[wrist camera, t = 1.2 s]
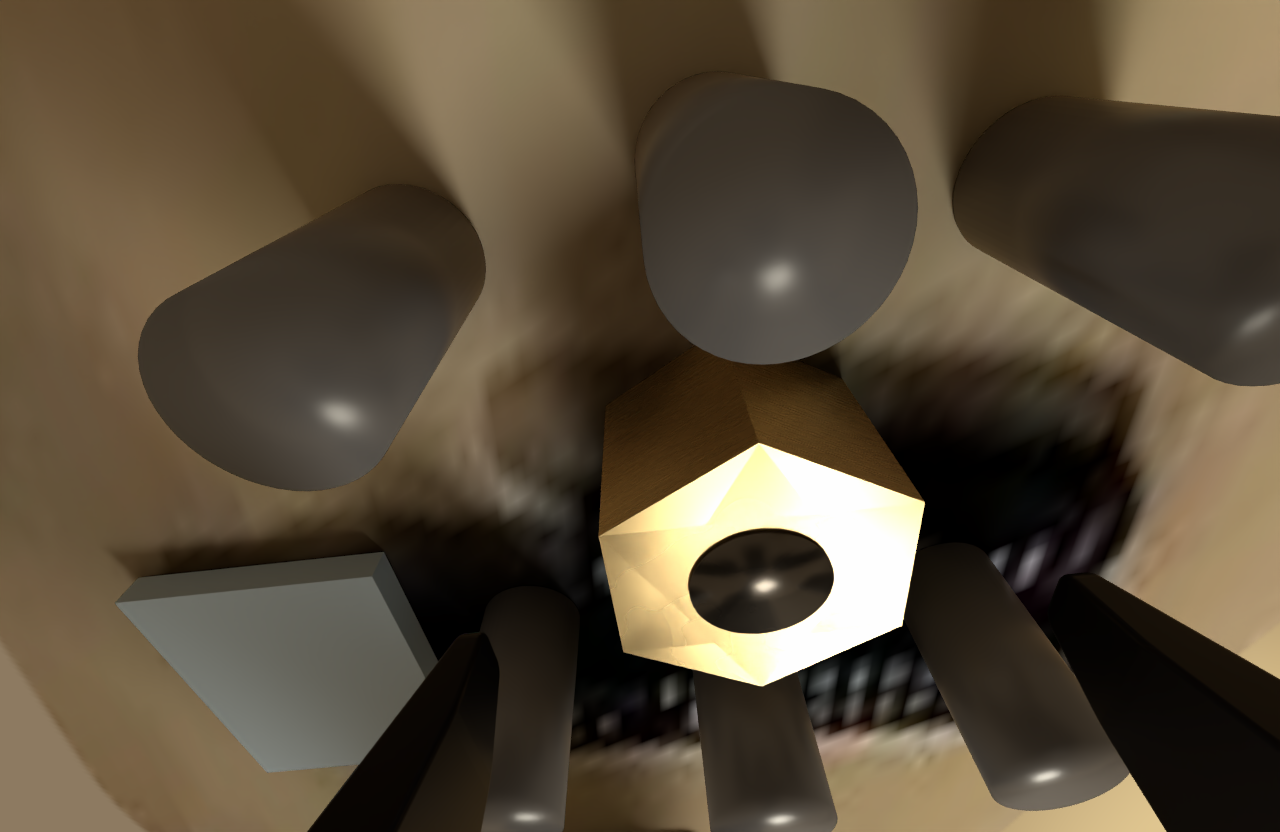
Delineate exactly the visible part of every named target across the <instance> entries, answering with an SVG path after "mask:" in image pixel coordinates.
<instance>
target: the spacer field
mask: <svg viewBox="0 0 1280 832" xmlns="http://www.w3.org/2000/svg"><path fill="white" fill-rule="evenodd" d="M635 174H636V184H637V195H638V206H639V216H640V227H641V237H642V248H643V258H644V264H645V270H646V275H647V279H648V282H649V285H650V288H651V291H652V294H653V296H654V298H655V300H656V302H657V304H658V306H659V308H660V309H661V311H662V312H663V314H664V315H665V317H666V318H667V320H668V321H669V322H670V323H671V324H672V325H673V326H674V328H675V329H676V330H677V331H678V332H679V333H680V334H682V335H683V336H684V337H685V338H686V339H687V340H689V341H690V342H691V343H693V344H694V345H696V346H698V347H699V348H701V349H702V350H704V351H706V352H709V353H711V354H713V355H715V356H717V357H721V358H724V359H727V360H730V361H735V362H740V363H746V364H761V365H763V364H778V363H784V362H790V361H795V360H798V359H802V358H805V357H809V356H811V355H814V354H816V353H818V352H821V351H823V350H825V349H827V348H829V347H831V346H833V345H835V344H836V343H838V342H840V341H841V340H843V339H844V338H846V337H847V336H849V335H850V334H852V333H853V332H854V331H856V330H857V329H858V328H859V327H860V326H861V325H863V324H864V323H865V322H866V321H867V320H868V319H869V318H870V317H871V316H872V315H873V314H874V313H875V312H876V311H877V310H878V309H879V307H880V306H881V305H882V304H883V302H884V301H885V300H886V298H887V297H888V296H889V294H890V293H891V291H892V290H893V288H894V286H895V285H896V283H897V281H898V280H899V278H900V276H901V274H902V272H903V269H904V267H905V265H906V263H907V261H908V257H909V254H910V251H911V248H912V245H913V241H914V236H915V231H916V226H917V212H918V202H917V188H916V183H915V179H914V174H913V170H912V167H911V164H910V162H909V159H908V156H907V154H906V152H905V150H904V148H903V146H902V145H901V143H900V141H899V139H898V137H897V136H896V135H895V134H894V132H893V131H892V130H891V129H890V127H889V126H888V125H887V123H886V122H884V121H883V120H882V119H881V118H880V117H879V116H878V115H877V114H876V113H875V112H873V111H872V110H871V109H869V108H868V107H866V106H865V105H863V104H861V103H860V102H858V101H857V100H855V99H852V98H850V97H848V96H845V95H843V94H841V93H838V92H834V91H830V90H826V89H822V88H817V87H811V86H805V85H799V84H793V83H788V82H782V81H776V80H770V79H764V78H758V77H752V76H746V75H740V74H735V73H729V72H706V73H701V74H697V75H694V76H691V77H688V78H686V79H684V80H682V81H680V82H679V83H677V84H675V85H674V86H673V87H671V88H670V89H668V90H667V91H666V92H665V93H664V94H663V95H662V96H661V97H660V98H659V99H658V100H657V101H656V103H655V104H654V105H653V106H652V108H651V109H650V111H649V113H648V114H647V116H646V118H645V120H644V122H643V124H642V126H641V129H640V132H639V135H638V138H637V144H636V149H635ZM953 211H954V216H955V221H956V223H957V226H958V228H959V230H960V232H961V234H962V235H963V237H964V238H965V239H966V240H967V241H968V242H969V243H970V244H971V245H972V246H974V247H975V248H977V249H979V250H981V251H982V252H984V253H986V254H988V255H990V256H991V257H993V258H995V259H997V260H999V261H1001V262H1002V263H1004V264H1006V265H1008V266H1010V267H1011V268H1013V269H1015V270H1017V271H1019V272H1021V273H1022V274H1024V275H1026V276H1028V277H1030V278H1031V279H1033V280H1035V281H1037V282H1039V283H1041V284H1042V285H1044V286H1046V287H1048V288H1050V289H1052V290H1053V291H1055V292H1057V293H1059V294H1061V295H1062V296H1064V297H1066V298H1068V299H1070V300H1072V301H1073V302H1075V303H1077V304H1079V305H1081V306H1082V307H1084V308H1086V309H1088V310H1090V311H1092V312H1093V313H1095V314H1097V315H1099V316H1101V317H1102V318H1104V319H1106V320H1108V321H1110V322H1112V323H1113V324H1115V325H1117V326H1119V327H1121V328H1122V329H1124V330H1126V331H1128V332H1130V333H1132V334H1133V335H1135V336H1137V337H1139V338H1141V339H1143V340H1144V341H1146V342H1148V343H1150V344H1152V345H1153V346H1155V347H1157V348H1159V349H1161V350H1163V351H1164V352H1166V353H1168V354H1170V355H1172V356H1173V357H1175V358H1177V359H1179V360H1181V361H1183V362H1184V363H1186V364H1188V365H1190V366H1192V367H1193V368H1195V369H1197V370H1199V371H1201V372H1203V373H1204V374H1206V375H1208V376H1210V377H1212V378H1213V379H1216V380H1219V381H1221V382H1224V383H1228V384H1233V385H1238V386H1267V385H1273V384H1279V383H1280V116H1270V115H1259V114H1249V113H1238V112H1227V111H1217V110H1206V109H1196V108H1185V107H1174V106H1164V105H1153V104H1142V103H1132V102H1121V101H1111V100H1100V99H1089V98H1079V97H1068V96H1049V97H1044V98H1039V99H1036V100H1033V101H1030V102H1027V103H1025V104H1023V105H1021V106H1018V107H1016V108H1015V109H1013V110H1011V111H1010V112H1008V113H1007V114H1005V115H1004V116H1002V117H1001V118H1000V119H998V120H997V121H996V122H995V123H994V124H993V125H992V126H990V127H989V128H988V129H987V130H986V131H985V132H984V134H983V135H982V136H981V137H980V138H979V139H978V140H977V142H976V143H975V145H974V146H973V147H972V149H971V150H970V152H969V153H968V155H967V157H966V159H965V160H964V163H963V165H962V167H961V169H960V171H959V174H958V177H957V180H956V184H955V189H954V197H953ZM485 273H486V265H485V257H484V252H483V248H482V245H481V242H480V240H479V238H478V236H477V234H476V232H475V230H474V229H473V227H472V225H471V224H470V222H469V221H468V220H467V219H466V217H465V216H464V215H463V214H462V213H461V212H460V211H459V210H458V209H457V208H456V207H455V206H453V205H452V204H451V203H450V202H448V201H447V200H445V199H444V198H442V197H441V196H439V195H437V194H435V193H433V192H431V191H429V190H426V189H423V188H420V187H416V186H411V185H402V184H394V185H385V186H380V187H377V188H375V189H372V190H370V191H368V192H366V193H364V194H362V195H360V196H358V197H356V198H355V199H353V200H351V201H349V202H347V203H345V204H343V205H341V206H340V207H338V208H336V209H334V210H332V211H330V212H328V213H326V214H325V215H323V216H321V217H319V218H317V219H315V220H313V221H311V222H309V223H308V224H306V225H304V226H302V227H300V228H298V229H296V230H294V231H293V232H291V233H289V234H287V235H285V236H283V237H281V238H279V239H278V240H276V241H274V242H272V243H270V244H268V245H266V246H264V247H263V248H261V249H259V250H257V251H255V252H253V253H251V254H249V255H248V256H246V257H244V258H242V259H240V260H238V261H236V262H234V263H233V264H231V265H229V266H227V267H225V268H223V269H221V270H219V271H218V272H216V273H214V274H212V275H210V276H208V277H206V278H204V279H203V280H201V281H199V282H197V283H195V284H193V285H191V286H189V287H188V288H186V289H184V290H182V291H180V292H178V293H177V294H175V295H173V296H171V297H170V298H168V299H166V300H165V301H164V302H163V303H162V304H160V305H159V306H158V307H157V308H156V309H155V310H154V312H153V313H152V314H151V315H150V317H149V318H148V320H147V322H146V324H145V326H144V328H143V330H142V333H141V337H140V341H139V348H138V362H139V370H140V374H141V378H142V381H143V385H144V387H145V390H146V392H147V394H148V396H149V399H150V400H151V402H152V404H153V406H154V407H155V409H156V411H157V412H158V414H159V415H160V416H161V418H162V419H163V420H164V422H165V423H166V424H167V425H168V426H169V428H170V429H171V430H172V431H173V432H174V433H175V434H176V435H177V436H178V437H179V438H180V439H181V440H182V441H183V442H184V443H186V444H187V445H188V446H189V447H190V448H191V449H193V450H194V451H195V452H197V453H198V454H199V455H201V456H202V457H203V458H205V459H206V460H208V461H210V462H211V463H213V464H214V465H216V466H218V467H220V468H222V469H223V470H225V471H227V472H229V473H231V474H234V475H236V476H238V477H241V478H243V479H245V480H248V481H251V482H254V483H258V484H261V485H264V486H269V487H273V488H278V489H285V490H293V491H317V490H325V489H331V488H336V487H339V486H343V485H346V484H348V483H350V482H353V481H355V480H357V479H359V478H360V477H362V476H364V475H365V474H367V473H368V472H369V471H370V470H372V469H373V468H374V467H375V466H376V465H377V464H378V463H379V461H380V460H381V459H382V458H383V456H384V455H385V453H386V451H387V450H388V448H389V446H390V445H391V443H392V441H393V440H394V438H395V436H396V435H397V433H398V431H399V430H400V428H401V426H402V425H403V423H404V421H405V420H406V418H407V416H408V415H409V413H410V411H411V410H412V408H413V406H414V405H415V403H416V401H417V400H418V398H419V396H420V395H421V393H422V391H423V390H424V388H425V386H426V385H427V383H428V381H429V380H430V378H431V376H432V375H433V373H434V371H435V370H436V368H437V366H438V365H439V363H440V361H441V360H442V358H443V356H444V355H445V353H446V351H447V350H448V348H449V346H450V345H451V343H452V341H453V340H454V338H455V336H456V335H457V333H458V331H459V330H460V328H461V326H462V325H463V323H464V321H465V320H466V318H467V316H468V315H469V313H470V311H471V310H472V308H473V306H474V305H475V303H476V301H477V299H478V298H479V296H480V294H481V291H482V289H483V286H484V281H485ZM903 618H904V620H905V622H906V624H907V626H908V628H909V630H910V632H911V634H912V636H913V638H914V640H915V642H916V644H917V646H918V648H919V650H920V652H921V654H922V656H923V658H924V660H925V663H926V665H927V667H928V669H929V671H930V673H931V675H932V677H933V679H934V681H935V683H936V685H937V687H938V689H939V691H940V693H941V695H942V697H943V699H944V701H945V703H946V705H947V707H948V709H949V711H950V713H951V715H952V717H953V719H954V721H955V723H956V725H957V727H958V729H959V731H960V733H961V735H962V737H963V739H964V741H965V743H966V745H967V747H968V749H969V751H970V753H971V755H972V757H973V759H974V761H975V763H976V765H977V767H978V769H979V771H980V773H981V775H982V777H983V780H984V782H985V784H986V786H987V788H988V790H989V792H990V794H991V796H992V797H993V799H994V800H995V801H996V802H997V803H999V804H1001V805H1003V806H1005V807H1008V808H1012V809H1017V810H1026V811H1039V810H1050V809H1057V808H1062V807H1067V806H1071V805H1075V804H1079V803H1082V802H1085V801H1087V800H1090V799H1092V798H1095V797H1097V796H1099V795H1101V794H1103V793H1105V792H1107V791H1109V790H1110V789H1112V788H1113V787H1115V786H1116V785H1118V784H1119V783H1120V782H1122V781H1123V780H1124V779H1125V778H1126V777H1127V776H1128V774H1129V773H1130V772H1129V770H1128V769H1127V767H1126V766H1125V764H1124V762H1123V761H1122V759H1121V758H1120V756H1119V754H1118V753H1117V751H1116V750H1115V748H1114V746H1113V745H1112V743H1111V741H1110V740H1109V738H1108V737H1107V735H1106V733H1105V731H1104V730H1103V728H1102V726H1101V725H1100V723H1099V721H1098V719H1097V717H1096V716H1095V714H1094V712H1093V710H1092V708H1091V706H1090V704H1089V702H1088V700H1087V698H1086V696H1085V694H1084V692H1083V690H1082V688H1081V686H1080V684H1079V682H1078V680H1077V678H1076V677H1075V676H1074V674H1073V673H1072V672H1071V670H1070V669H1069V667H1068V666H1067V665H1066V663H1065V662H1064V660H1063V659H1062V658H1061V656H1060V655H1059V654H1058V652H1057V651H1056V649H1055V648H1054V647H1053V645H1052V644H1051V643H1050V641H1049V640H1048V638H1047V637H1046V636H1045V634H1044V633H1043V632H1042V630H1041V629H1040V627H1039V626H1038V625H1037V623H1036V622H1035V620H1034V619H1033V618H1032V616H1031V615H1030V614H1029V612H1028V611H1027V609H1026V608H1025V607H1024V605H1023V604H1022V603H1021V601H1020V600H1019V598H1018V597H1017V596H1016V594H1015V593H1014V592H1013V590H1012V589H1011V587H1010V586H1009V585H1008V583H1007V582H1006V581H1005V579H1004V578H1003V576H1002V575H1001V574H1000V572H999V571H998V569H997V568H996V567H995V565H994V564H993V563H992V561H991V560H990V558H989V557H988V556H987V554H986V553H985V552H984V551H983V550H981V549H980V548H978V547H976V546H974V545H971V544H967V543H957V542H953V543H943V544H938V545H934V546H931V547H928V548H925V549H923V550H921V551H919V552H917V553H915V558H914V563H913V568H912V574H911V579H910V584H909V590H908V595H907V600H906V606H905V611H904V616H903ZM579 628H580V614H579V611H578V609H577V607H576V606H575V604H574V603H573V602H572V601H571V600H570V599H569V598H567V597H566V596H565V595H563V594H561V593H559V592H557V591H555V590H552V589H549V588H545V587H539V586H519V587H514V588H510V589H507V590H504V591H502V592H500V593H499V594H497V595H496V596H494V597H493V598H492V599H491V600H490V601H489V603H488V604H487V606H486V609H485V612H484V616H483V620H482V624H481V628H480V632H484V633H485V634H486V635H487V636H488V638H489V641H490V643H491V646H492V648H493V650H494V653H495V655H496V658H497V660H498V663H499V670H500V679H499V691H498V703H497V715H496V727H495V739H494V751H493V762H492V772H491V780H490V786H489V792H488V797H487V803H486V808H485V813H484V819H483V824H482V829H481V832H563V829H564V821H565V808H566V795H567V782H568V770H569V757H570V744H571V731H572V718H573V705H574V693H575V680H576V667H577V654H578V641H579ZM693 677H694V686H695V695H696V704H697V713H698V722H699V731H700V740H701V749H702V758H703V767H704V776H705V785H706V794H707V803H708V812H709V821H710V830H711V832H831V831H832V830H833V829H834V828H835V826H836V823H837V814H836V810H835V806H834V803H833V799H832V796H831V792H830V789H829V785H828V781H827V778H826V774H825V771H824V767H823V763H822V760H821V756H820V753H819V749H818V746H817V742H816V738H815V735H814V731H813V728H812V724H811V721H810V717H809V713H808V710H807V706H806V703H805V699H804V696H803V692H802V688H801V685H800V681H799V678H798V674H797V671H796V672H794V673H791V674H789V675H787V676H784V677H782V678H780V679H778V680H775V681H773V682H771V683H768V684H766V685H764V686H758V685H754V684H750V683H746V682H742V681H738V680H734V679H730V678H726V677H722V676H718V675H714V674H710V673H706V672H702V671H698V670H694V669H693Z"/></svg>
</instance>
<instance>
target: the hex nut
mask: <svg viewBox="0 0 1280 832" xmlns="http://www.w3.org/2000/svg"><path fill="white" fill-rule="evenodd" d="M924 505H925V502H924V500H923V499H922V497H921V496H920V494H919V493H918V491H917V490H916V488H915V487H914V485H913V484H912V482H911V481H910V479H909V478H908V476H907V475H906V473H905V472H904V470H903V469H902V467H901V466H900V464H899V463H898V461H897V460H896V458H895V457H894V455H893V454H892V452H891V451H890V449H889V448H888V447H887V445H886V444H885V442H884V441H883V439H882V438H881V436H880V435H879V433H878V432H877V430H876V429H875V427H874V426H873V424H872V423H871V421H870V420H869V418H868V417H867V415H866V414H865V412H864V411H863V409H862V408H861V406H860V405H859V403H858V402H857V400H856V399H855V397H854V396H853V394H852V393H851V391H850V390H849V388H848V387H847V385H846V384H845V382H844V381H843V379H842V378H840V377H837V376H835V375H832V374H830V373H827V372H825V371H822V370H820V369H817V368H815V367H812V366H810V365H807V364H805V363H802V362H800V361H797V360H795V361H790V362H784V363H778V364H763V365H761V364H746V363H740V362H735V361H730V360H727V359H724V358H721V357H717V356H715V355H713V354H711V353H709V352H706V351H704V350H702V349H701V348H699V347H698V346H696V345H695V346H694V347H692V348H691V349H689V350H688V351H686V352H685V353H683V354H682V355H680V356H679V357H677V358H676V359H674V360H673V361H671V362H670V363H668V364H667V365H665V366H664V367H662V368H661V369H659V370H658V371H656V372H655V373H653V374H652V375H650V376H649V377H647V378H646V379H644V380H643V381H642V382H640V383H639V384H637V385H636V386H634V387H633V388H631V389H630V390H628V391H627V392H625V393H624V394H622V395H621V396H619V397H618V398H616V399H615V400H613V401H612V402H610V403H609V404H607V405H606V409H605V428H604V447H603V465H602V484H601V503H600V522H599V540H600V545H601V549H602V554H603V559H604V563H605V568H606V573H607V577H608V582H609V587H610V591H611V596H612V601H613V605H614V610H615V615H616V619H617V624H618V628H619V633H620V638H621V642H622V647H623V652H625V653H629V654H633V655H637V656H641V657H645V658H649V659H653V660H657V661H661V662H665V663H670V664H674V665H678V666H682V667H686V668H690V669H694V670H698V671H702V672H706V673H710V674H714V675H718V676H722V677H726V678H730V679H734V680H738V681H742V682H746V683H750V684H754V685H758V686H764V685H766V684H768V683H771V682H773V681H775V680H778V679H780V678H782V677H784V676H787V675H789V674H791V673H794V672H796V671H798V670H801V669H803V668H805V667H807V666H810V665H812V664H814V663H817V662H819V661H821V660H824V659H826V658H828V657H830V656H833V655H835V654H837V653H840V652H842V651H844V650H847V649H849V648H851V647H853V646H856V645H858V644H860V643H863V642H865V641H867V640H870V639H872V638H874V637H876V636H879V635H881V634H883V633H886V632H888V631H890V630H893V629H895V628H897V627H899V626H902V622H903V616H904V611H905V606H906V600H907V595H908V590H909V584H910V579H911V574H912V568H913V563H914V558H915V552H916V547H917V542H918V537H919V531H920V526H921V521H922V515H923V510H924Z"/></svg>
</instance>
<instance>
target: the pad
mask: <svg viewBox="0 0 1280 832" xmlns="http://www.w3.org/2000/svg"><path fill="white" fill-rule="evenodd" d="M115 604H116V605H117V606H118V607H119V608H120V610H121V611H122V612H123V613H124V614H125V615H126V616H127V617H128V618H129V620H130V621H131V622H132V623H133V624H134V625H135V626H136V627H137V628H138V630H139V631H140V632H141V633H142V634H143V635H144V636H145V637H146V638H147V640H148V641H149V642H150V643H151V644H152V645H153V646H154V647H155V648H156V650H157V651H158V652H159V653H160V654H161V655H162V656H163V657H164V658H165V660H166V661H167V662H168V663H169V664H170V665H171V666H172V667H173V669H174V670H175V671H176V672H177V673H178V674H179V675H180V676H181V677H182V679H183V680H184V681H185V682H186V683H187V684H188V685H189V686H190V687H191V689H192V690H193V691H194V692H195V693H196V694H197V695H198V696H199V697H200V699H201V700H202V701H203V702H204V703H205V704H206V705H207V706H208V707H209V709H210V710H211V711H212V712H213V713H214V714H215V715H216V716H217V717H218V719H219V720H220V721H221V722H222V723H223V724H224V725H225V726H226V727H227V729H228V730H229V731H230V732H231V733H232V734H233V735H234V736H235V737H236V739H237V740H238V741H239V742H240V743H241V744H242V745H243V746H244V747H245V749H246V750H247V751H248V752H249V753H250V754H251V755H252V756H253V757H254V759H255V760H256V761H257V762H258V763H259V764H260V765H261V766H262V767H263V769H264V770H265V771H266V772H267V773H268V772H280V771H291V770H302V769H313V768H325V767H336V766H347V765H358V764H360V763H361V761H362V760H363V759H364V757H365V756H366V755H367V753H368V752H369V751H370V750H371V748H372V747H373V746H374V744H375V743H376V742H377V740H378V739H379V738H380V737H381V735H382V734H383V733H384V731H385V730H386V729H387V727H388V726H389V725H390V724H391V722H392V721H393V720H394V718H395V717H396V716H397V714H398V713H399V712H400V711H401V709H402V708H403V707H404V705H405V704H406V703H407V701H408V700H409V699H410V698H411V696H412V695H413V694H414V692H415V691H416V690H417V688H418V687H419V686H420V685H421V683H422V682H423V681H424V679H425V678H426V677H427V675H428V674H429V673H430V672H431V670H432V669H433V668H434V666H435V665H436V664H437V663H438V660H437V658H436V656H435V654H434V652H433V650H432V648H431V646H430V644H429V642H428V640H427V638H426V636H425V634H424V632H423V630H422V628H421V626H420V624H419V622H418V620H417V618H416V616H415V614H414V612H413V610H412V608H411V606H410V604H409V602H408V600H407V598H406V596H405V594H404V592H403V590H402V588H401V586H400V584H399V582H398V580H397V578H396V576H395V573H394V571H393V569H392V567H391V565H390V563H389V561H388V559H387V557H386V555H385V553H384V552H378V553H368V554H359V555H349V556H340V557H330V558H321V559H311V560H302V561H292V562H283V563H274V564H264V565H255V566H245V567H236V568H226V569H217V570H207V571H198V572H188V573H179V574H169V575H160V576H150V577H141V578H138V579H137V580H136V581H135V582H134V583H133V584H132V585H131V586H130V587H129V588H128V589H127V590H126V592H125V593H124V594H123V595H122V596H121V597H120V598H119V599H118V600H117V601H116V602H115Z"/></svg>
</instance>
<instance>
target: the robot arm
mask: <svg viewBox="0 0 1280 832" xmlns="http://www.w3.org/2000/svg"><path fill="white" fill-rule="evenodd" d="M1048 619H1049V623H1050V625H1051V628H1052V630H1053V632H1054V634H1055V636H1056V638H1057V640H1058V642H1059V644H1060V646H1061V648H1062V650H1063V652H1064V654H1065V656H1066V658H1067V660H1068V662H1069V664H1070V666H1071V668H1072V670H1073V672H1074V674H1075V676H1076V678H1077V680H1078V682H1079V684H1080V686H1081V688H1082V690H1083V692H1084V694H1085V696H1086V698H1087V700H1088V702H1089V704H1090V706H1091V708H1092V710H1093V712H1094V714H1095V716H1096V717H1097V719H1098V721H1099V723H1100V725H1101V726H1102V728H1103V730H1104V731H1105V733H1106V735H1107V737H1108V738H1109V740H1110V741H1111V743H1112V745H1113V746H1114V748H1115V750H1116V751H1117V753H1118V754H1119V756H1120V758H1121V759H1122V761H1123V762H1124V764H1125V766H1126V767H1127V769H1128V770H1129V772H1130V774H1131V775H1132V777H1133V778H1134V780H1135V782H1136V783H1137V785H1138V786H1139V788H1140V790H1141V791H1142V793H1143V795H1144V796H1145V798H1146V799H1147V801H1148V803H1149V804H1150V805H1151V807H1152V809H1153V811H1154V812H1155V814H1156V815H1157V817H1158V819H1159V820H1160V822H1161V823H1162V825H1163V827H1164V828H1165V830H1166V831H1167V832H1280V679H1278V678H1277V677H1275V676H1273V675H1271V674H1270V673H1268V672H1266V671H1265V670H1263V669H1261V668H1259V667H1258V666H1256V665H1254V664H1252V663H1251V662H1249V661H1247V660H1245V659H1244V658H1242V657H1240V656H1238V655H1237V654H1235V653H1233V652H1231V651H1230V650H1228V649H1226V648H1224V647H1223V646H1221V645H1219V644H1217V643H1216V642H1214V641H1212V640H1210V639H1209V638H1207V637H1205V636H1203V635H1202V634H1200V633H1198V632H1196V631H1195V630H1193V629H1191V628H1189V627H1188V626H1186V625H1184V624H1182V623H1181V622H1179V621H1177V620H1175V619H1174V618H1172V617H1170V616H1168V615H1167V614H1165V613H1163V612H1162V611H1160V610H1158V609H1156V608H1155V607H1153V606H1151V605H1149V604H1148V603H1146V602H1144V601H1142V600H1141V599H1139V598H1137V597H1135V596H1134V595H1132V594H1130V593H1128V592H1127V591H1125V590H1123V589H1121V588H1120V587H1118V586H1116V585H1114V584H1113V583H1111V582H1109V581H1107V580H1106V579H1104V578H1102V577H1100V576H1098V575H1096V574H1093V573H1076V574H1067V575H1064V576H1062V577H1061V578H1060V579H1059V581H1058V584H1057V586H1056V589H1055V591H1054V594H1053V597H1052V599H1051V602H1050V604H1049V607H1048ZM499 679H500V670H499V663H498V660H497V658H496V655H495V653H494V650H493V648H492V646H491V643H490V641H489V638H488V636H487V635H486V634H485V633H484V632H476V633H466V634H461V635H460V636H458V637H457V638H456V639H455V640H454V642H453V643H452V644H451V646H450V647H449V648H448V650H447V651H446V652H445V653H444V655H443V656H442V657H441V659H440V660H439V661H438V663H437V664H436V665H435V666H434V668H433V669H432V670H431V672H430V673H429V674H428V675H427V677H426V678H425V679H424V681H423V682H422V683H421V685H420V686H419V687H418V688H417V690H416V691H415V692H414V694H413V695H412V696H411V698H410V699H409V700H408V701H407V703H406V704H405V705H404V707H403V708H402V709H401V711H400V712H399V713H398V714H397V716H396V717H395V718H394V720H393V721H392V722H391V724H390V725H389V726H388V727H387V729H386V730H385V731H384V733H383V734H382V735H381V737H380V738H379V739H378V740H377V742H376V743H375V744H374V746H373V747H372V748H371V750H370V751H369V752H368V753H367V755H366V756H365V757H364V759H363V760H362V761H361V763H360V764H359V765H358V766H357V768H356V769H355V770H354V772H353V773H352V774H351V776H350V777H349V778H348V779H347V781H346V782H345V783H344V785H343V786H342V787H341V789H340V790H339V791H338V792H337V794H336V795H335V796H334V798H333V799H332V800H331V802H330V803H329V804H328V805H327V807H326V808H325V809H324V811H323V812H322V813H321V815H320V816H319V817H318V818H317V820H316V821H315V822H314V824H313V825H312V826H311V828H310V829H309V830H308V831H307V832H481V829H482V824H483V819H484V813H485V808H486V803H487V797H488V792H489V786H490V780H491V772H492V762H493V751H494V739H495V727H496V715H497V703H498V691H499Z"/></svg>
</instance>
